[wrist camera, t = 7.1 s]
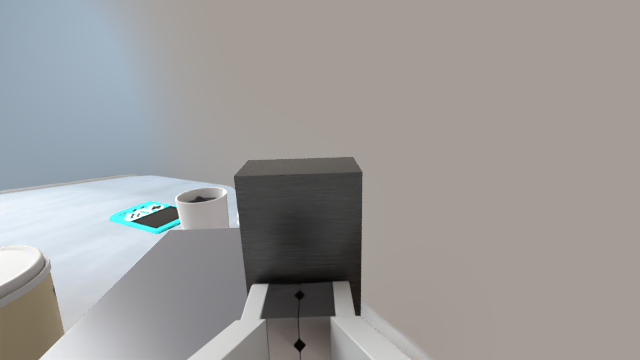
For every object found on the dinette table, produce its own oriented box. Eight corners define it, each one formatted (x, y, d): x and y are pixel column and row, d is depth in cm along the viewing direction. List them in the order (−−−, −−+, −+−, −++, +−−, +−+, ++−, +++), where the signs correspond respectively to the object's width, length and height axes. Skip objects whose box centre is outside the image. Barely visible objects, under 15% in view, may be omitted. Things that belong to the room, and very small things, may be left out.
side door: (357, 583, 14) (362, 171, 9) (280, 588, 14) (234, 176, 8) (338, 385, 24) (335, 128, 18) (293, 387, 24) (275, 130, 18)
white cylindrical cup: (175, 268, 42) (163, 201, 39) (206, 245, 48) (197, 186, 45) (217, 275, 40) (207, 205, 37) (243, 251, 46) (236, 188, 44)
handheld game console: (151, 205, 69) (150, 199, 68) (203, 216, 62) (202, 209, 61) (105, 222, 60) (103, 216, 60) (158, 237, 53) (156, 230, 53)
